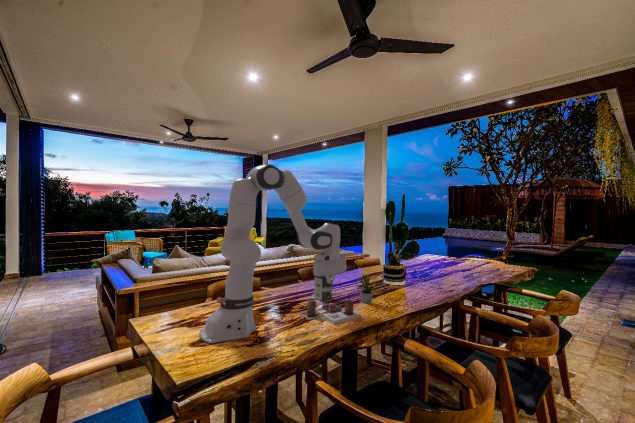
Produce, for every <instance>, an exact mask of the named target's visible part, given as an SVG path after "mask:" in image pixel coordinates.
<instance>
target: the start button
mask: <svg viewBox="0 0 635 423" xmlns="http://www.w3.org/2000/svg"><path fill="white" fill-rule="evenodd" d="M328 304H329V307H330V308H333V307H334V304H335V303H334V302H329V303H328Z"/></svg>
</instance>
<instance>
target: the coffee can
mask: <svg viewBox="0 0 635 423" xmlns="http://www.w3.org/2000/svg"><path fill="white" fill-rule="evenodd" d="M330 278H331V274H330ZM313 295H314V297H313V300H315V301H318V302H319V301H320V302H332V300H333V283H327V279H326V277H325V276H315V275H314V294H313Z"/></svg>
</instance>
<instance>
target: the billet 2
mask: <svg viewBox="0 0 635 423" xmlns="http://www.w3.org/2000/svg"><path fill="white" fill-rule="evenodd" d="M344 311H345V315H347V316H351V315H353V311H354V301H353V300H349V299H348V300H344Z"/></svg>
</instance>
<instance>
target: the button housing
mask: <svg viewBox="0 0 635 423" xmlns="http://www.w3.org/2000/svg"><path fill="white" fill-rule="evenodd" d="M321 309H322V310H323V311H326V312H327V313H329V314H333V313H334V312H335V313H337V312H338V311H339V312H341V311H342V306H340V305H338V304H335V303H334V307H333V308H330V307H329V303H327V304H324V305H323V304H322V305H321Z"/></svg>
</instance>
